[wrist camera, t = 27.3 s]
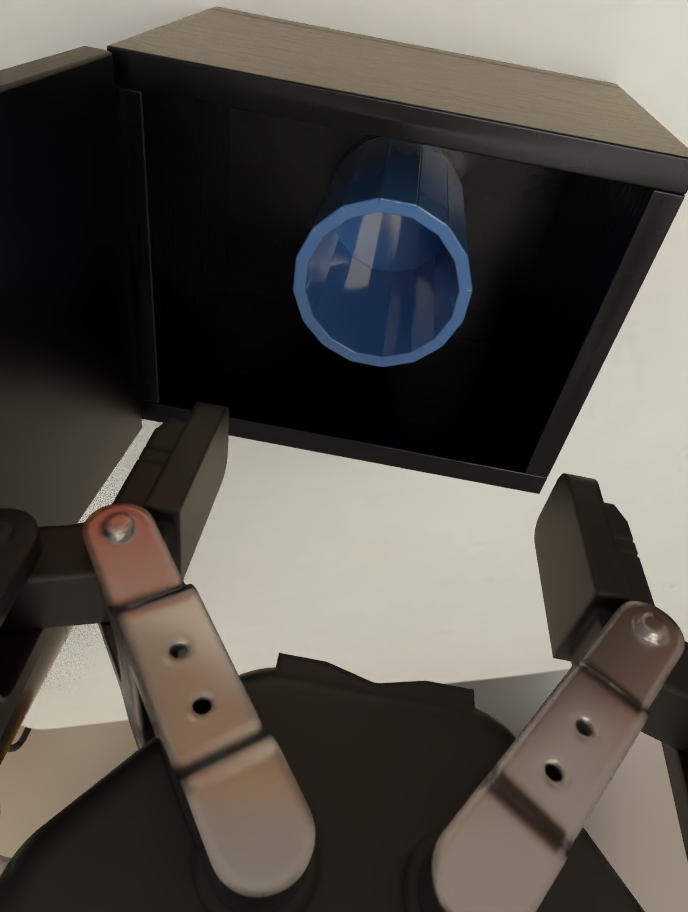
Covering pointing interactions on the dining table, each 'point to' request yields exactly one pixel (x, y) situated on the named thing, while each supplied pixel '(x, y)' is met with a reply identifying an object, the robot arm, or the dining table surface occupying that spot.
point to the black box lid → (63, 287)
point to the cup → (386, 255)
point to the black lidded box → (296, 200)
